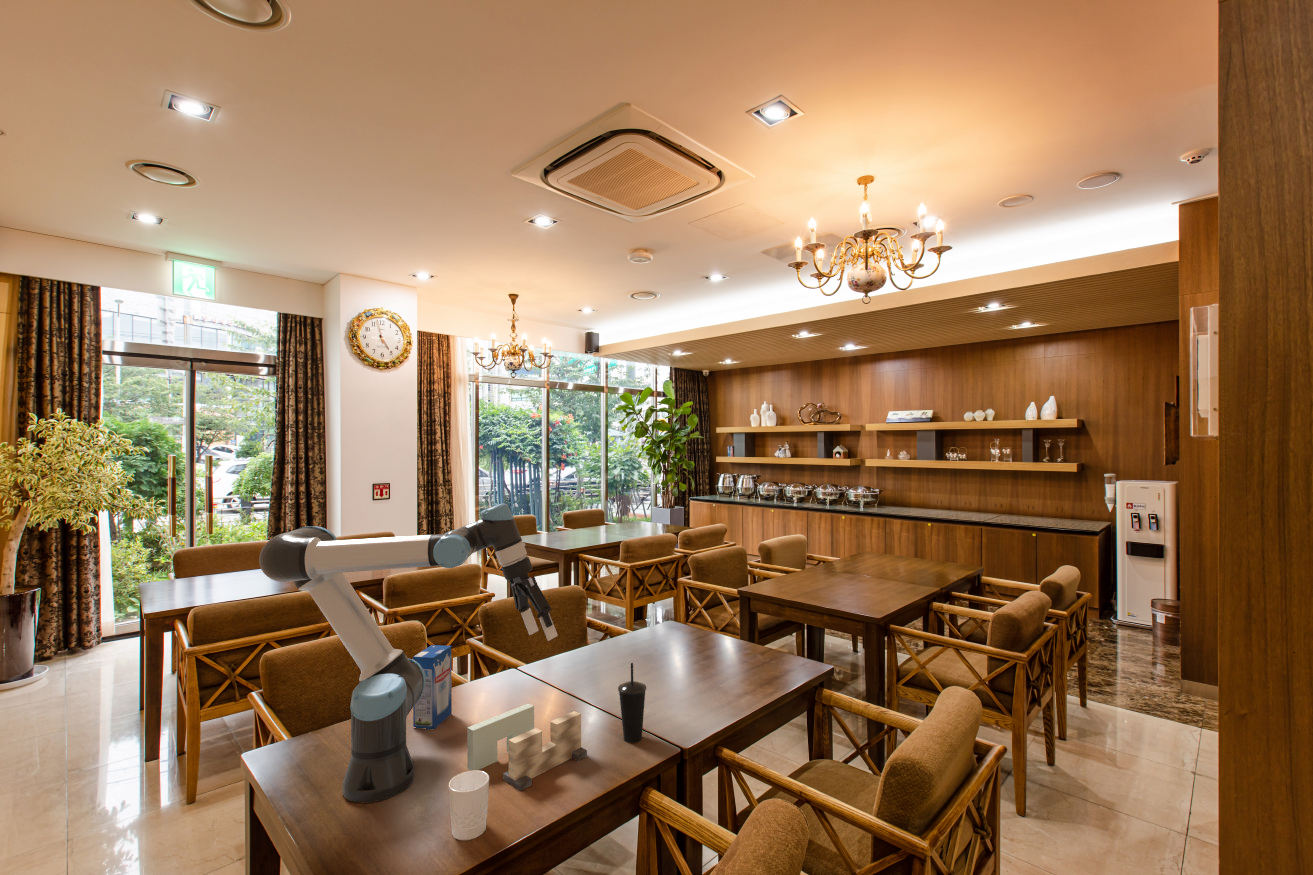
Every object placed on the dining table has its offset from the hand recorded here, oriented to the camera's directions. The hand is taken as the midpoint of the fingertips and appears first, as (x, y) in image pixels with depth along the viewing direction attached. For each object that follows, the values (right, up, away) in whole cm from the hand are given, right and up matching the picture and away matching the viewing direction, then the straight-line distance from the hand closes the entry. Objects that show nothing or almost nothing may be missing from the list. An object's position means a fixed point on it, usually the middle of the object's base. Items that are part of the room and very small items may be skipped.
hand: (543, 635), depth 155 cm
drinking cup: (+24, -28, +2) cm, 37 cm away
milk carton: (-34, -29, +13) cm, 47 cm away
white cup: (-8, -28, -36) cm, 46 cm away
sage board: (-9, -28, -7) cm, 31 cm away
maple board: (+3, -28, -12) cm, 31 cm away
